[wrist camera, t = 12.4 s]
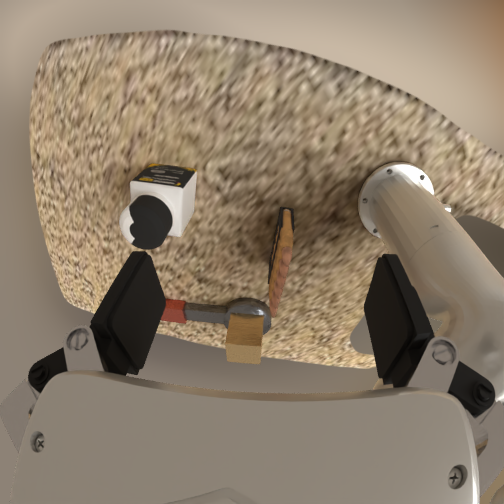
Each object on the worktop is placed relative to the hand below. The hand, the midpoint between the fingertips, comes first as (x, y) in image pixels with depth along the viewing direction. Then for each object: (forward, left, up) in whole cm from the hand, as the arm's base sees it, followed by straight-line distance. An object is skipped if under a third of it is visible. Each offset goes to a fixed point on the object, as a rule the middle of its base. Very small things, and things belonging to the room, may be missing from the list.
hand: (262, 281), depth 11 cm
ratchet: (+12, +34, -27) cm, 45 cm away
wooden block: (+3, +34, -25) cm, 42 cm away
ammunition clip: (-2, +16, -28) cm, 32 cm away
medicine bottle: (+14, +8, -28) cm, 32 cm away
